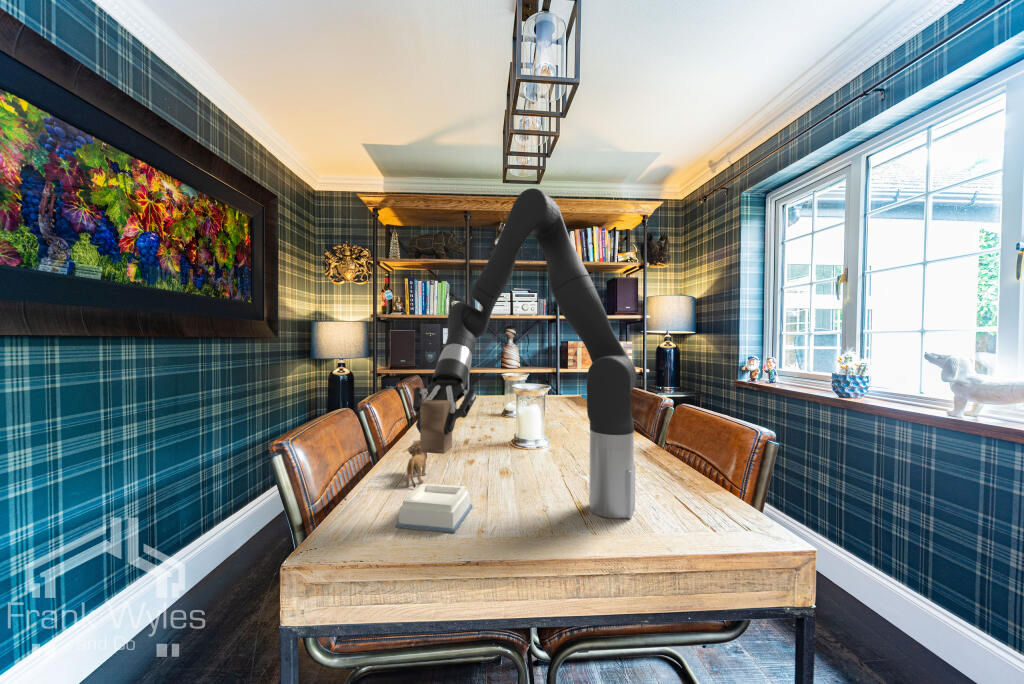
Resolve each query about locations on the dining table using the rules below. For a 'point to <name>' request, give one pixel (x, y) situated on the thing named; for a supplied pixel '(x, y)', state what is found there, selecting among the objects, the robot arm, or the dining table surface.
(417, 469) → the lion figurine
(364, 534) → the dining table surface
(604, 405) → the robot arm
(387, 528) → the dining table surface
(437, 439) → the walnut column
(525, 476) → the dining table surface
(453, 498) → the pedestal base
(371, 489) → the dining table surface
